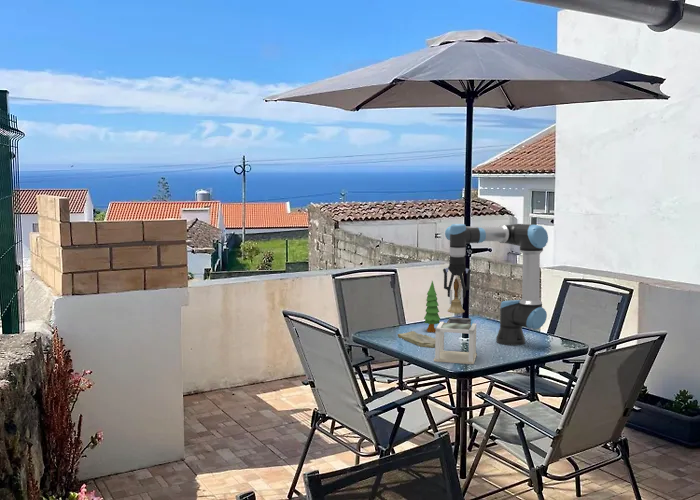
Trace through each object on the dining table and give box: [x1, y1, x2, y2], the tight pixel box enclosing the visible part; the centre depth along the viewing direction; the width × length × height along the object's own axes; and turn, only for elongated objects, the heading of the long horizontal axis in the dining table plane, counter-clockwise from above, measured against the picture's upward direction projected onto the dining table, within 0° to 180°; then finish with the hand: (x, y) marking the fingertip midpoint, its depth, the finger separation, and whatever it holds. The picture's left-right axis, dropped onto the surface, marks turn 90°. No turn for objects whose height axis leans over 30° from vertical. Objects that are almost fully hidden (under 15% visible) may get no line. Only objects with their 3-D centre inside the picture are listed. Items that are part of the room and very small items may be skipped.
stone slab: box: [397, 330, 435, 349], centre depth 372 cm, size 12×4×30 cm
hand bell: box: [447, 278, 466, 314], centre depth 332 cm, size 8×8×16 cm
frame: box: [433, 321, 478, 365], centre depth 337 cm, size 19×19×16 cm
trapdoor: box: [442, 316, 472, 330], centre depth 342 cm, size 13×25×2 cm, turn 165°
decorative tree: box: [423, 280, 441, 333], centre depth 398 cm, size 10×9×30 cm
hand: (456, 303), depth 332 cm, fingers closed on hand bell, 5 cm apart
